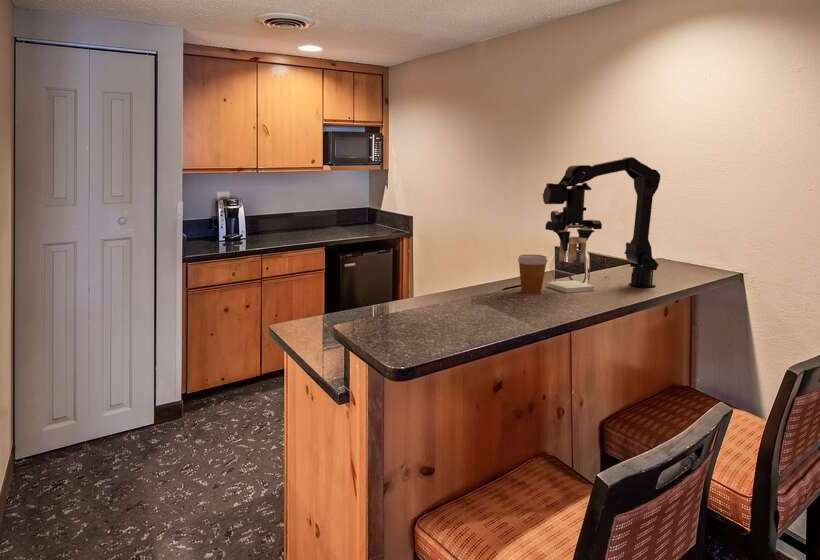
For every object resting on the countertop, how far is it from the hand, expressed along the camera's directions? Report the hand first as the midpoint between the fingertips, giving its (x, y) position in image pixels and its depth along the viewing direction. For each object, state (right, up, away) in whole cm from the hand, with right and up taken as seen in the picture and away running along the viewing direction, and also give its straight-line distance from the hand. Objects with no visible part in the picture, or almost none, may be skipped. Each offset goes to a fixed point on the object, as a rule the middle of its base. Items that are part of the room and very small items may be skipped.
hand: (572, 251), depth 190 cm
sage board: (0, -13, +2) cm, 13 cm away
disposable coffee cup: (-15, -14, -4) cm, 21 cm away
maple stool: (0, -3, +1) cm, 4 cm away
